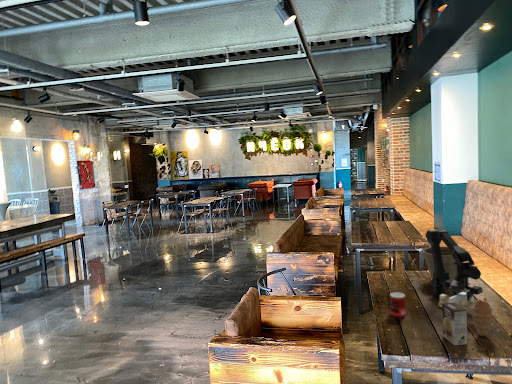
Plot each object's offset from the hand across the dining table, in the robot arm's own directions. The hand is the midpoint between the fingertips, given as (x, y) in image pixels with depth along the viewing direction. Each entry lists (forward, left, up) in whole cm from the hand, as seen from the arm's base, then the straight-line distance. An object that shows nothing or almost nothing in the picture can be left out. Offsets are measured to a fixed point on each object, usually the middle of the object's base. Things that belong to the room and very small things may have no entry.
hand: (462, 302), depth 210 cm
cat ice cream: (+22, -25, -4) cm, 33 cm away
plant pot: (-28, +31, -4) cm, 42 cm away
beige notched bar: (0, -4, -3) cm, 5 cm away
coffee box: (+16, -38, -4) cm, 41 cm away
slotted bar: (0, -4, -3) cm, 5 cm away
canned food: (-18, -32, -4) cm, 37 cm away
